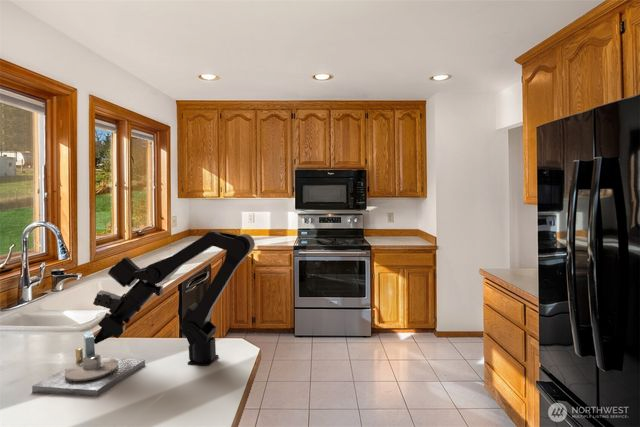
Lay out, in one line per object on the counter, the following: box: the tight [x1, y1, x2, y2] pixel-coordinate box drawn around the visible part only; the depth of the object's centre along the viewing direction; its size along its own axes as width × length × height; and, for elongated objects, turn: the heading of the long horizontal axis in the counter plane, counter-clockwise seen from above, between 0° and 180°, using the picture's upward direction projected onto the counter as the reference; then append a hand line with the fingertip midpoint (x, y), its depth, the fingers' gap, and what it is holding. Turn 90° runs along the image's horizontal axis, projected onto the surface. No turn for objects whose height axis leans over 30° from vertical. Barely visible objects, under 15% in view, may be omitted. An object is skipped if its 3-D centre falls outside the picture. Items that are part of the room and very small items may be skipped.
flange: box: [65, 331, 118, 381], centre depth 104 cm, size 14×12×8 cm
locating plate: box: [31, 347, 146, 398], centre depth 103 cm, size 18×18×6 cm
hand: (94, 342), depth 109 cm, fingers closed
